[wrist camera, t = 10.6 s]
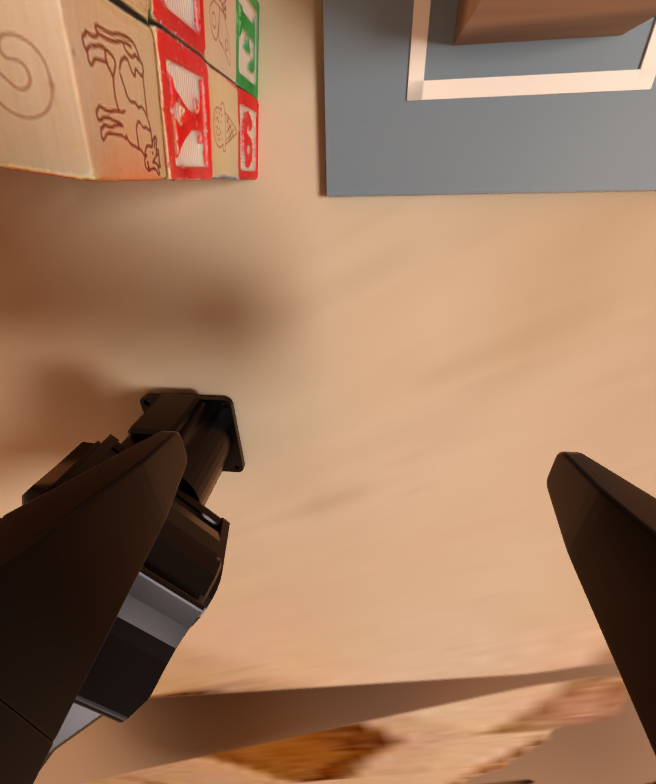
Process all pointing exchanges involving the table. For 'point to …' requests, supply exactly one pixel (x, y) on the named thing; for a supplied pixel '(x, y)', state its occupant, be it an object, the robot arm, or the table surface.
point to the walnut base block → (546, 19)
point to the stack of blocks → (130, 88)
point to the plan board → (481, 106)
